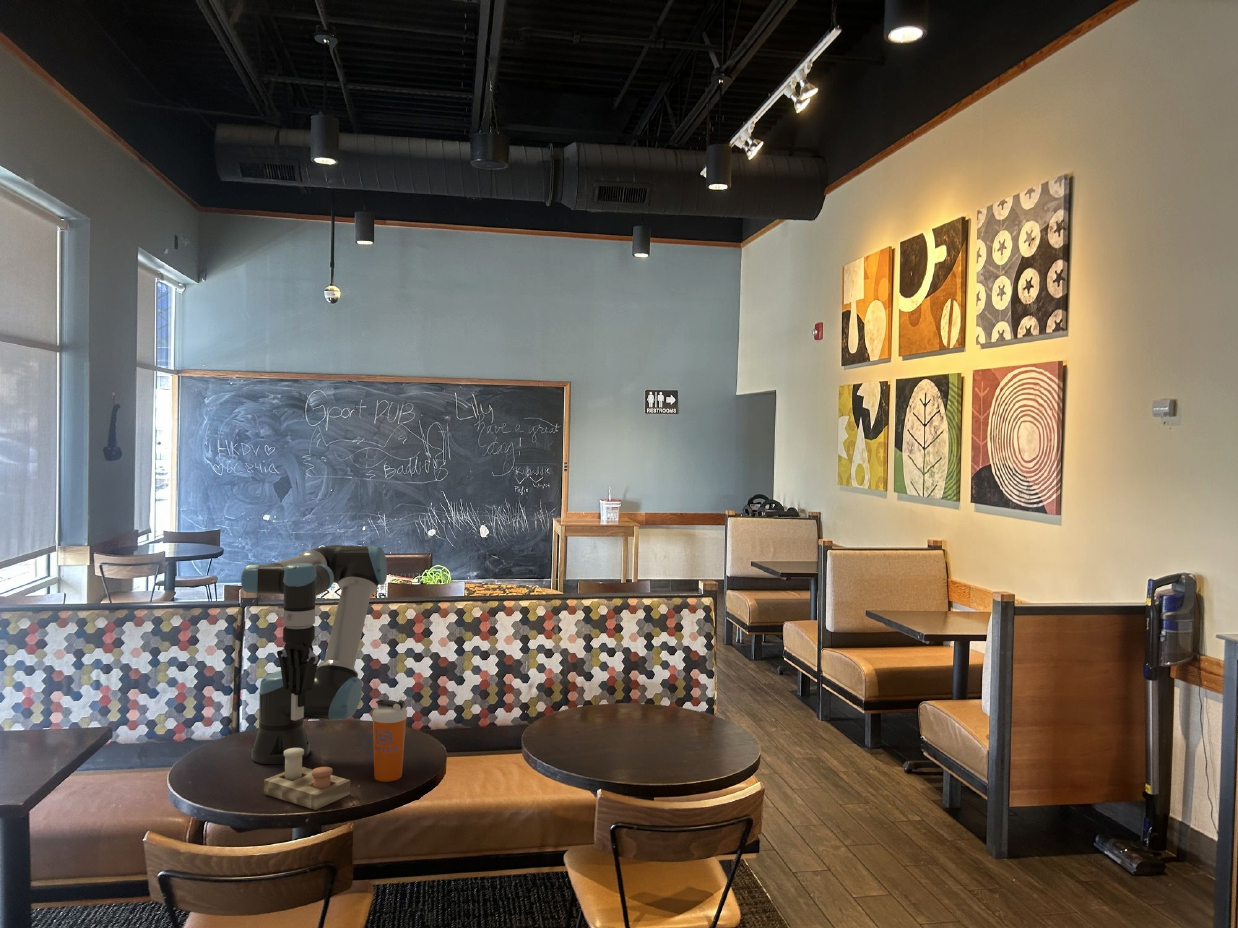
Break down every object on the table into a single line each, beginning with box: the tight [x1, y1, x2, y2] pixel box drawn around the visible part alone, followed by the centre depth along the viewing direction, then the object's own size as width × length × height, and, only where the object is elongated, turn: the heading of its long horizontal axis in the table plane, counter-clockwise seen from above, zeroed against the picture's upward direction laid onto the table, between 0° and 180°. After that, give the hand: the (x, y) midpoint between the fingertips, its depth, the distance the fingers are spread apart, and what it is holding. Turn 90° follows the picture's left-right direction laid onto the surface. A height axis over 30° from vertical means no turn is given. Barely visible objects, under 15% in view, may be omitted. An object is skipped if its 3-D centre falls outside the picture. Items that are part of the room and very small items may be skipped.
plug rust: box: [312, 766, 333, 790], centre depth 209 cm, size 5×5×7 cm
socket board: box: [263, 766, 351, 811], centre depth 211 cm, size 18×11×4 cm, turn 62°
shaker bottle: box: [371, 698, 408, 783], centre depth 224 cm, size 9×9×20 cm
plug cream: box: [284, 748, 304, 781], centre depth 213 cm, size 5×5×7 cm
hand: (297, 718), depth 213 cm, fingers closed
